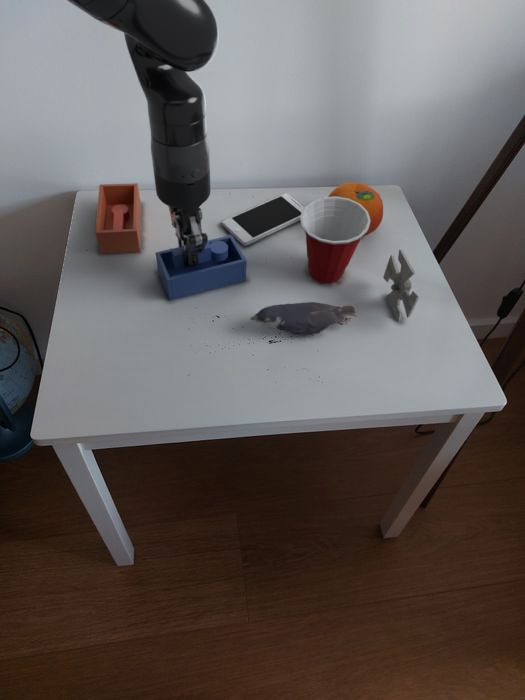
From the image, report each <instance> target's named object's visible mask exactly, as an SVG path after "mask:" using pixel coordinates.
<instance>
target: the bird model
mask: <svg viewBox="0 0 525 700" xmlns="http://www.w3.org/2000/svg"><path fill="white" fill-rule="evenodd" d="M357 316H358V313H357V312H356V308H355V307H354V305H343V306H340V305H339V306H338V305H332V304H330V303H329V304H328V303H322V302H315V301H309V302H307V301H306V302H296V303H294V302H293V303H284V304H283V303H282V304H281V303H280V304H273V305H268V306H266V307H263V308H261V309H260V310H259V311H258V312H257V313H255V314H254V315H253V316H251V317H250V318H249V320H250V321H254V322H256V323H259V324H262V325H264V326H267V327H270V328H273V329H274V328H275V329H276V330H279V331H283V332H286V333H291V334H292V335H297V336H307V335H318V334H320V333H321V332H323V331H325V330H326V329H327V328H328V327H330V326H332V325H334V324H338V325H341V326H343V325H346V326H347V325H348V324H349V323H350V322H351V321H352V317H357Z"/></svg>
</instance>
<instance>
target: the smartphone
mask: <svg viewBox="0 0 525 700" xmlns="http://www.w3.org/2000/svg"><path fill="white" fill-rule="evenodd" d="M304 207H305V206H303V205H302V204H301V203H300V202H299V201H297V199H295V198H294V197H292V195H290V194H289V193H285V192H284V193H283V194H280V195H278V196H275V197H274V198H271V199H269V200H267V201H264V202H263V203H260V204H258V205H256V206H253V207H251V208H248V209H246V210H244V211H242V212H240V213H237V214H235V215H233V216H231V217H228V218H225V219H223V220H222V223H221V224H222V227H223V228H224V229H225V230H226V231H227V232H228V233H230V235H232V236H233V238H234V239H235V240H237V241H238V242H239V243H240V244H241V245H242V246H245V247H246V246H248V245H250V244H253V243H255V242H258V241H259V240H261V239H263V238H266V237H267V236H269V235H271V234H274V233H276V232H278V231H280V230H283V229H284V228H287V227H288V226H291V225H293V224H295V223H297V222H299V221H301V219H300V216H301V213H302V211H303V208H304Z"/></svg>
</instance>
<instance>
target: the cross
mask: <svg viewBox="0 0 525 700" xmlns="http://www.w3.org/2000/svg"><path fill="white" fill-rule="evenodd" d="M397 256H398V257H397V260H398V262H399V264H400V269H399V268H398V264H397V262H396V258H395V256H394V255H393V254H390V256H389V258H388V261H387V263H386V268H385V270H384V274H383V279H384V281H386V283H389V282H390V280H391V281H392V282H393V283H392V284H391V286H390V290H391V291H390V292H389V293H388V294H387V295H386V300H387V302H388V304H389V306H390V308H391V310H392V312H393V314H394V316H395V318H396V320H397V321H398V322H401V319H402V313H403V312H402V311H401V308H400V305H401V301H402V304H403V308H404V311H405V316H406V318H407V319H408V318H410V317H411V316H412V314H413V312H414V309H415V307H416V305H417V303H418V300H419V299H420V295H419V294H418V293H416V292H415V291H414V290H412V291H411V289H412V286H413V283H412V281H411V278H412V277H413V276H414V275H415V274H416V271H415V270H414V268H413V266H412V265H411V263H410V261H409V259H408V256H407V255H406V254H405V251H404V250H402V249H401V248H400V249H398V255H397ZM410 291H411V293H410Z"/></svg>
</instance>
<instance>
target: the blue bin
mask: <svg viewBox="0 0 525 700" xmlns="http://www.w3.org/2000/svg"><path fill="white" fill-rule="evenodd" d="M215 241H222V242H225V243H226V244H227V246H228V257H227V258H226V259H225V260H224V261H214V260H211V261H207V262H203V263H199V264H197V265H195V266H191V267H183V268H178V269H176V268H175V266H174V264H173V258H172V249H176V248H179V246H178V247H173V248H169V249H164V250H160V251H156V252H155V260H156V267H157V273H158V276H159V279H160V280H161V283H162V286H163V288H164V291H165V293H166V295H167V298H168V300H169V301H174V300H178V299H182V298H185V297H189V296H193V295H197V294H201V293H205V292H209V291H213V290H216V289H220V288H223V287H228V286H232V285H236V284H239V283H243V282H246V281H247V259H246V257H245V256H244V254H243V252H242V250H241V248H240V247H239V245H238V243H237V241H236V238H235V237H234V236H233V235H232V234H230V235H225V236H221V237H216V238H212V239H208V242H209V244H211V243H212V242H215Z"/></svg>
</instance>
